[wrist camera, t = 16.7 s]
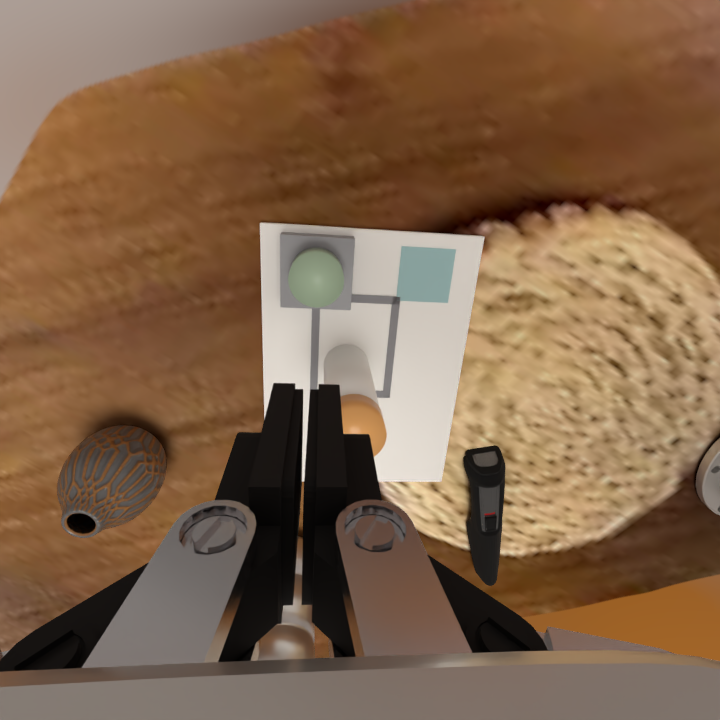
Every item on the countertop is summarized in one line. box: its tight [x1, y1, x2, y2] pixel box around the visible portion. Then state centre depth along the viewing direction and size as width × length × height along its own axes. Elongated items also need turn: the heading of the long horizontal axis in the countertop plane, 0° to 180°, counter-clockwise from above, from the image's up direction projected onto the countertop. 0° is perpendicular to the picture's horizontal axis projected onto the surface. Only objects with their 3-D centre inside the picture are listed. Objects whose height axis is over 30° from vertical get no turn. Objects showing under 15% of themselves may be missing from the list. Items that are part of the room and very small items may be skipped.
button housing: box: [280, 232, 355, 310], centre depth 30 cm, size 5×5×2 cm
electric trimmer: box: [464, 446, 505, 586], centre depth 41 cm, size 4×15×3 cm, turn 7°
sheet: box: [260, 222, 484, 482], centre depth 34 cm, size 16×22×1 cm
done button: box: [288, 248, 344, 308], centre depth 28 cm, size 4×4×2 cm
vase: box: [57, 425, 167, 538], centre depth 32 cm, size 7×7×9 cm
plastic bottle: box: [257, 536, 315, 661], centre depth 33 cm, size 6×7×20 cm
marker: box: [324, 344, 387, 456], centre depth 29 cm, size 4×4×10 cm
